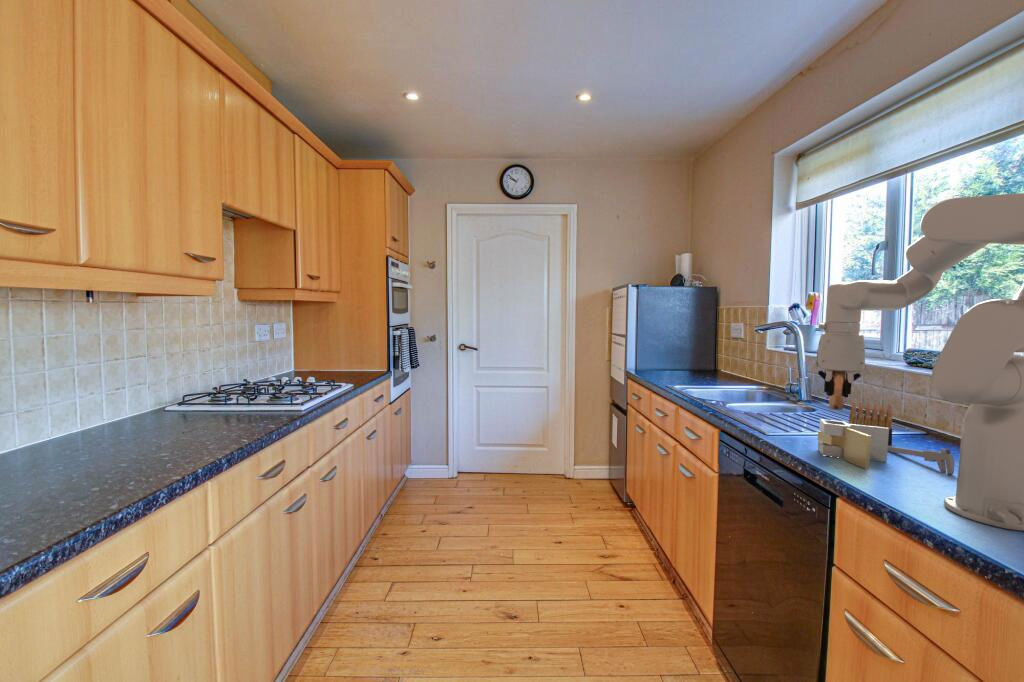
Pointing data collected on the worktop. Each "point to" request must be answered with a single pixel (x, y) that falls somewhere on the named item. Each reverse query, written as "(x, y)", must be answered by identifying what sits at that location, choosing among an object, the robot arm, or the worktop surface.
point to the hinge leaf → (851, 446)
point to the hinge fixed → (839, 427)
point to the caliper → (931, 457)
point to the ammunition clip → (872, 418)
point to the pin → (837, 390)
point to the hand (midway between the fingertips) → (836, 395)
